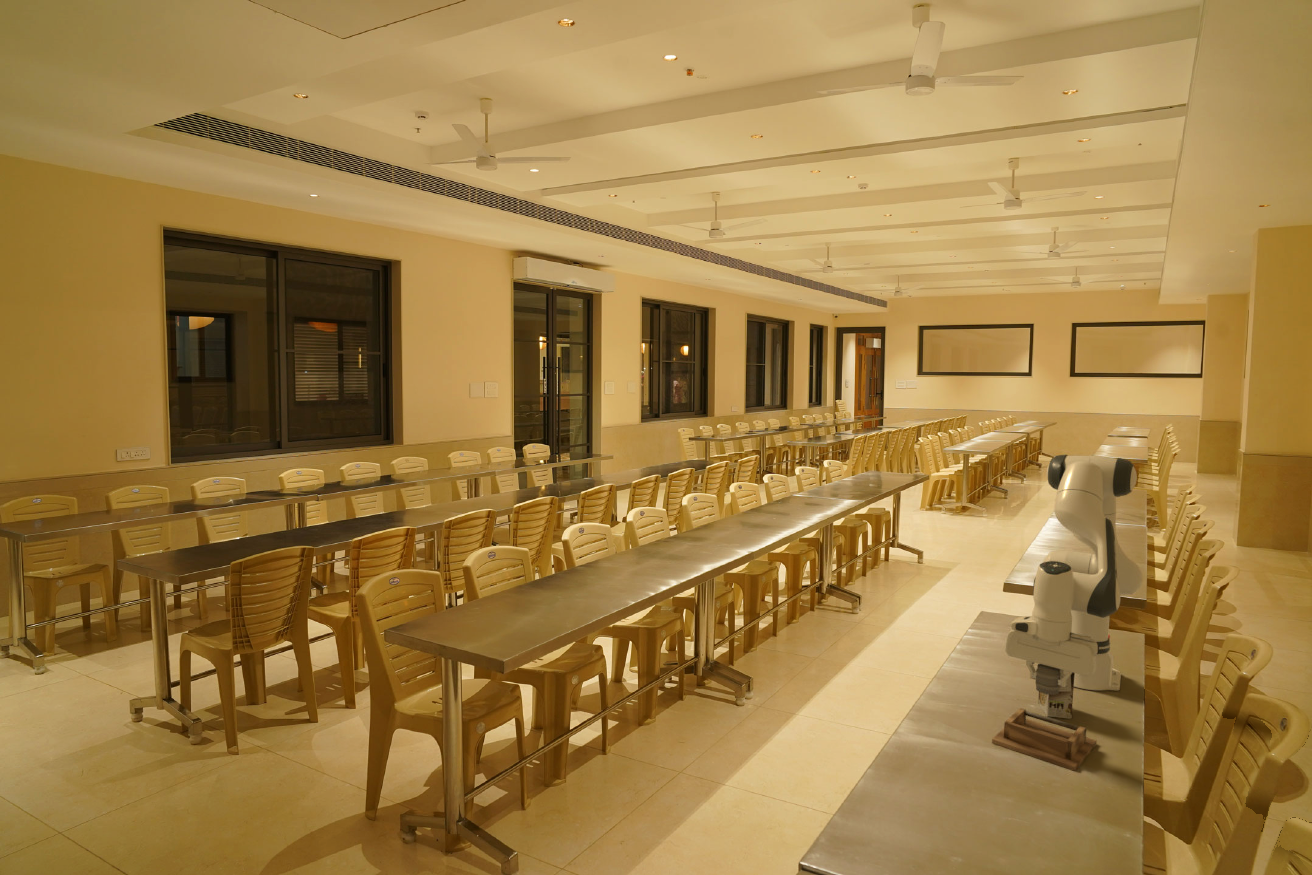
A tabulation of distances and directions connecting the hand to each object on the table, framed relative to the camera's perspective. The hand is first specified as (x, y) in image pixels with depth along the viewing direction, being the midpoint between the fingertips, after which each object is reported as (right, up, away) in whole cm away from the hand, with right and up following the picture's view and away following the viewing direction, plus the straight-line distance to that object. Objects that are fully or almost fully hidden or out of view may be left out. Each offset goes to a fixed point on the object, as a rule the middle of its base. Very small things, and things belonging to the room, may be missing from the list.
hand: (1047, 682), depth 191 cm
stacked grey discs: (0, -2, 0) cm, 2 cm away
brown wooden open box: (0, -16, +2) cm, 16 cm away
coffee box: (+12, -15, +20) cm, 28 cm away
